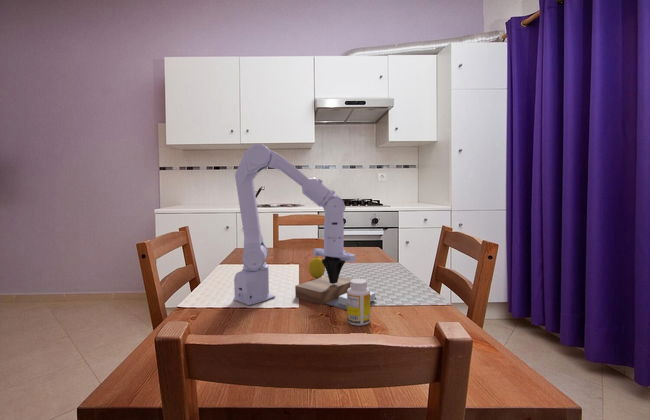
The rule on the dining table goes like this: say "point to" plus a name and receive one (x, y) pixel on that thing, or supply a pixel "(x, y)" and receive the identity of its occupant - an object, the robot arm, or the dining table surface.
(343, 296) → the light grey block
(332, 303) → the mat
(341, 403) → the dining table surface
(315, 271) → the lemon
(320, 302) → the block
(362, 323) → the supplement bottle
